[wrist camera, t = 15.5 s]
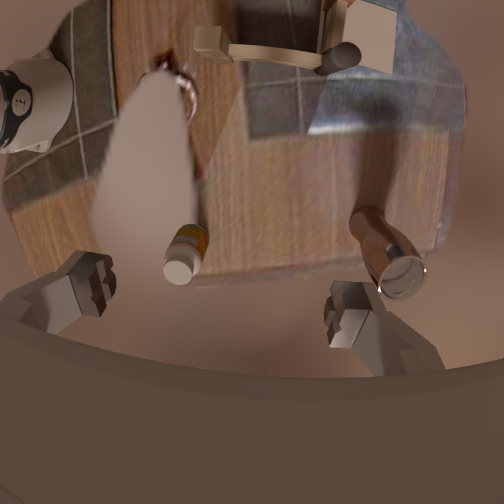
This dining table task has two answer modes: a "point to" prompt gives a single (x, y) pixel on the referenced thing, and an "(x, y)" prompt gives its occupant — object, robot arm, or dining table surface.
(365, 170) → the dining table surface
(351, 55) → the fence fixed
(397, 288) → the beer glass
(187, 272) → the supplement bottle
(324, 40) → the fence gate
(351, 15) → the card
